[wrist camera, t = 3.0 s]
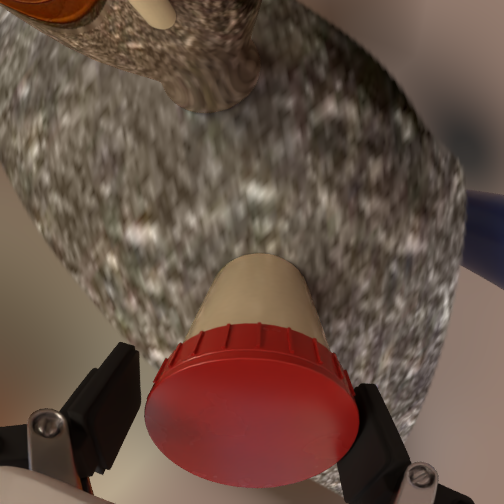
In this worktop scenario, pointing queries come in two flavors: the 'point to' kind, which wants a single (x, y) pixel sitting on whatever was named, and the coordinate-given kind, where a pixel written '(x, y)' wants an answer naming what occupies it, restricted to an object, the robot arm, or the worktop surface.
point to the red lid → (252, 406)
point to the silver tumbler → (161, 42)
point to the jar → (259, 297)
